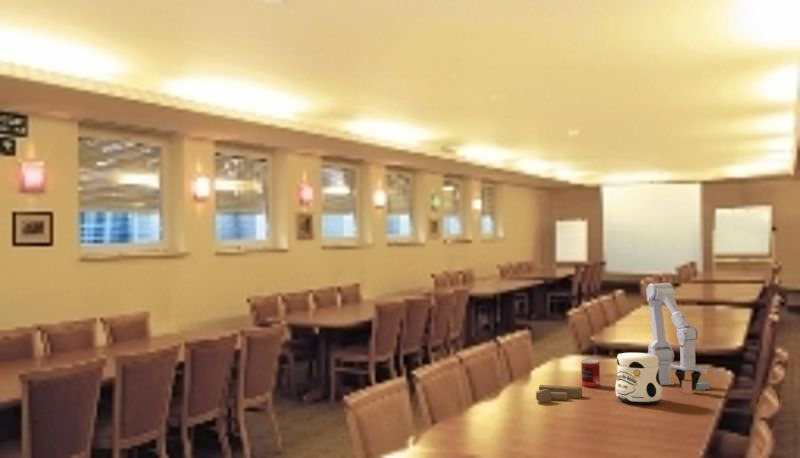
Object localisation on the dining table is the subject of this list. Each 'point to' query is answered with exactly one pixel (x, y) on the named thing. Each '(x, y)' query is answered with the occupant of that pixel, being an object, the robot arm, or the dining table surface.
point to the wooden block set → (557, 393)
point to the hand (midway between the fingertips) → (688, 389)
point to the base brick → (702, 385)
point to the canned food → (590, 373)
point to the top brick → (687, 386)
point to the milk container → (638, 378)
